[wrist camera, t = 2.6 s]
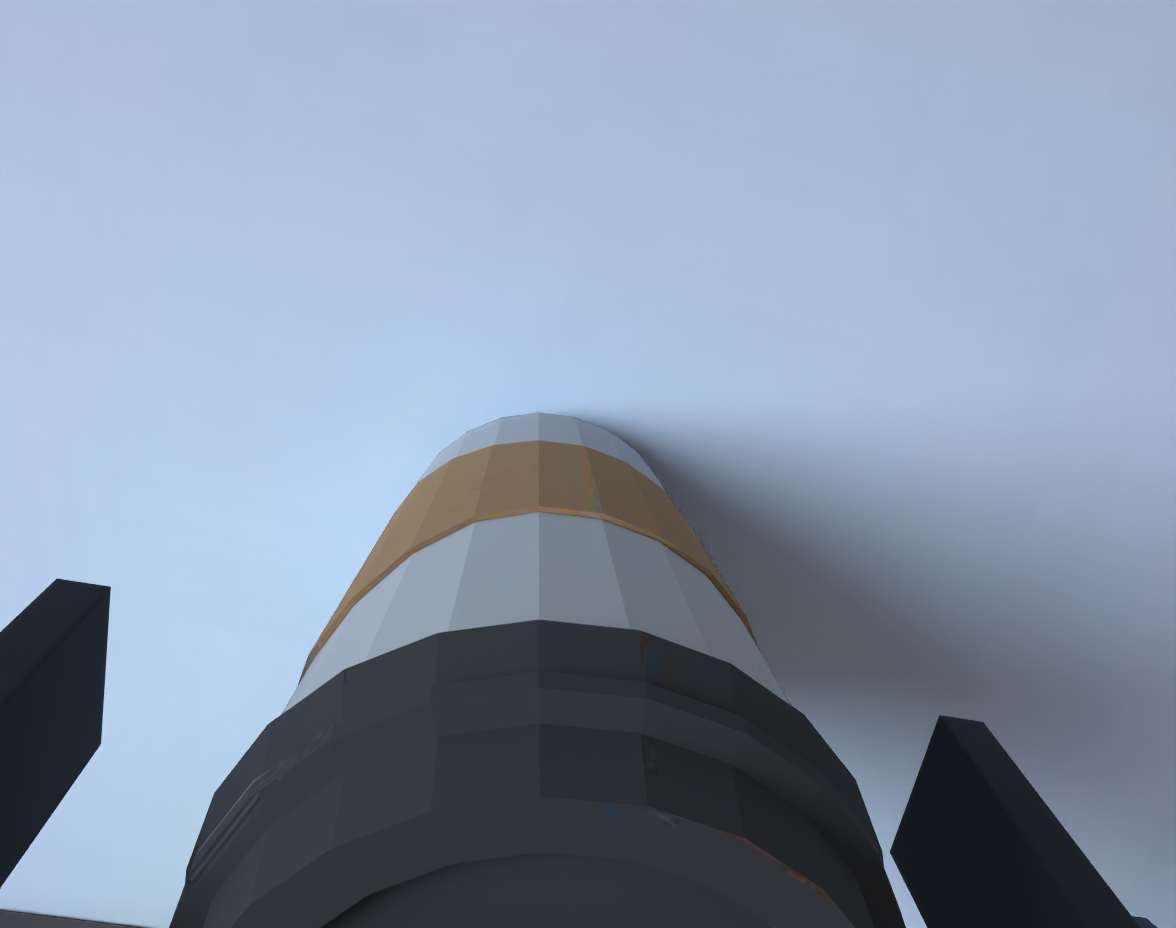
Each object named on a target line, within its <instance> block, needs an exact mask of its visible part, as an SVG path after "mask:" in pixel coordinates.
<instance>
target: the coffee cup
mask: <svg viewBox="0 0 1176 928" xmlns="http://www.w3.org/2000/svg"><path fill="white" fill-rule="evenodd" d="M169 928H906V927H905V924H904V921H903V918H902V915H901V912H900V909H899V906H898V904H897V901H896V898H895V895H894V893H893V890H892V887H891V885H890V882H889V879H888V877H887V874H886V871H885V869H884V864H883V854H882V849H881V847H880V844H879V841H878V839H877V836H876V833H875V831H874V828H873V825H872V823H871V820H870V817H869V815H868V812H867V809H866V807H865V804H864V801H863V798H862V796H861V793H860V790H859V788H858V785H857V782H856V780H855V778H854V777H853V776H852V775H851V773H850V772H849V771H848V769H847V768H846V767H845V766H844V764H843V763H842V762H841V761H840V759H839V758H838V757H837V756H836V754H835V753H834V752H833V751H832V749H831V748H830V747H829V746H828V744H827V743H826V742H825V740H824V739H823V738H822V737H821V735H820V734H819V733H818V732H817V730H816V729H815V728H814V727H813V725H812V724H811V723H810V722H809V720H808V719H807V718H806V716H805V715H804V714H802V713H801V712H800V711H798V710H797V709H795V708H794V707H792V705H791V703H790V702H789V700H788V698H787V697H786V695H785V693H784V692H783V690H782V688H781V686H780V685H779V683H778V681H777V680H776V678H775V676H774V675H773V673H772V671H771V669H770V668H769V666H768V664H767V663H766V661H765V659H764V658H763V656H762V654H761V652H760V650H759V648H758V645H757V643H756V640H755V638H754V635H753V633H752V630H751V628H750V625H749V623H748V620H747V618H746V616H745V614H744V612H743V611H742V609H741V607H740V606H739V604H738V602H737V601H736V599H735V597H734V596H733V594H732V593H731V591H730V589H729V588H728V586H727V584H726V583H725V581H724V579H723V578H722V576H721V574H720V573H719V571H718V570H717V568H716V566H715V565H714V563H713V561H712V560H711V558H710V556H709V555H708V553H707V552H706V550H705V548H704V547H703V545H702V543H701V542H700V540H699V538H698V537H697V535H696V533H695V532H694V530H693V529H692V527H691V525H690V524H689V522H688V521H687V519H686V518H685V517H684V516H683V514H682V513H681V512H680V510H679V509H678V508H677V507H676V505H675V504H674V503H673V501H672V500H671V499H670V498H669V496H668V495H667V493H666V491H665V490H664V488H663V486H662V484H661V483H660V481H659V479H658V478H657V477H656V475H655V474H654V473H653V472H652V470H651V469H650V468H649V466H648V465H647V464H646V463H645V461H644V460H643V459H642V457H641V456H640V455H639V454H638V452H637V451H635V450H634V449H633V448H631V447H630V446H629V445H627V444H626V443H625V442H623V441H622V440H621V439H619V438H618V437H617V436H615V435H614V434H613V433H611V432H610V431H608V430H606V429H603V428H601V427H598V426H596V425H593V424H591V423H588V422H586V421H583V420H581V419H578V418H576V417H569V416H561V415H553V414H545V413H532V414H525V415H517V416H509V417H502V418H499V419H497V420H494V421H492V422H489V423H487V424H484V425H482V426H479V427H477V428H475V429H472V430H470V431H467V432H466V433H465V434H464V435H462V436H461V437H460V438H458V439H457V440H456V441H454V442H453V443H452V444H450V445H449V446H448V447H447V448H445V449H444V450H443V451H441V452H440V453H439V454H438V455H437V457H436V458H435V459H434V461H433V462H432V463H431V465H430V466H429V467H428V469H427V470H426V471H425V473H424V474H423V475H422V477H421V478H420V479H419V481H418V482H417V484H416V486H415V487H414V489H413V490H412V491H411V492H410V494H409V495H408V496H407V498H406V499H405V500H404V501H403V503H402V504H401V505H400V507H399V508H398V509H397V510H396V512H395V513H394V515H393V516H392V518H391V520H390V521H389V523H388V525H387V526H386V528H385V530H384V531H383V533H382V535H381V536H380V538H379V540H378V541H377V543H376V544H375V546H374V548H373V549H372V551H371V553H370V554H369V556H368V558H367V559H366V561H365V563H364V564H363V566H362V568H361V569H360V571H359V573H358V574H357V576H356V578H355V579H354V581H353V583H352V584H351V586H350V588H349V589H348V591H347V593H346V594H345V596H344V598H343V599H342V601H341V602H340V604H339V606H338V607H337V609H336V611H335V612H334V614H333V616H332V617H331V619H330V621H329V622H328V624H327V626H326V627H325V629H324V631H323V632H322V634H321V636H320V637H319V639H318V641H317V642H316V644H315V646H314V647H313V649H312V651H311V652H310V654H309V656H308V658H307V661H306V664H305V667H304V670H303V672H302V675H301V678H300V681H299V684H298V687H297V689H296V690H295V692H294V694H293V696H292V697H291V699H290V701H289V702H288V704H287V706H286V708H285V709H284V711H283V713H282V714H281V715H280V716H279V717H278V718H276V719H275V720H273V721H272V722H271V723H269V724H268V725H267V726H266V728H265V729H264V730H263V731H262V733H261V734H260V735H259V737H258V738H257V739H256V740H255V742H254V743H253V744H252V746H251V747H250V748H249V749H248V751H247V752H246V753H245V755H244V756H243V757H242V758H241V760H240V761H239V762H238V764H237V765H236V766H235V767H234V769H233V770H232V771H231V773H230V774H229V775H228V776H227V778H226V779H225V780H224V782H223V783H222V784H221V785H220V787H219V788H218V789H217V791H216V792H215V793H214V796H213V798H212V801H211V804H210V806H209V809H208V812H207V815H206V817H205V820H204V823H203V826H202V828H201V831H200V834H199V836H198V839H197V842H196V845H195V847H194V850H193V853H192V856H191V858H190V861H189V864H188V866H187V870H186V880H185V886H184V889H183V892H182V894H181V897H180V900H179V902H178V905H177V908H176V911H175V913H174V916H173V919H172V921H171V924H170V927H169Z"/></svg>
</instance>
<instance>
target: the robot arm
mask: <svg viewBox="0 0 1176 928" xmlns="http://www.w3.org/2000/svg"><path fill="white" fill-rule="evenodd" d="M110 589H111V587H108V586H101V585H95V584H89V583H82V582H76V581H69V580H63V579H56V580H55V581H54V582H53V583H52V584H51V585H50V586H49V587H48V588H46V589H45V590H44V591H43V592H42V593H41V594H40V595H39V596H38V597H37V598H36V599H35V600H34V601H33V602H32V603H31V604H30V605H29V606H27V607H26V608H25V609H24V610H23V611H22V612H21V613H20V614H19V615H18V616H17V617H16V618H15V619H14V620H13V621H12V622H11V623H10V624H9V625H7V626H6V627H5V628H4V629H3V630H2V631H1V632H0V888H1V886H2V885H3V883H4V882H5V881H6V879H7V878H8V876H9V875H10V873H11V872H12V871H13V869H14V868H15V866H16V865H17V863H18V862H19V861H20V859H21V858H22V856H23V855H24V853H25V852H26V851H27V849H28V848H29V846H30V845H31V843H32V842H33V840H34V839H35V838H36V836H37V835H38V833H39V832H40V830H41V829H42V828H43V826H44V825H45V823H46V822H47V820H48V819H49V818H50V816H51V815H52V813H53V812H54V810H55V809H56V808H57V806H58V805H59V803H60V802H61V800H62V799H63V798H64V796H65V795H66V793H67V792H68V790H69V789H70V787H71V786H72V785H73V783H74V782H75V780H76V779H77V777H78V776H79V775H80V773H81V772H82V770H83V769H84V767H85V766H86V765H87V763H88V762H89V760H90V759H91V757H92V756H93V755H94V753H95V752H96V750H97V749H98V747H99V746H100V745H101V733H102V717H103V701H104V685H105V669H106V653H107V637H108V621H109V605H110ZM890 853H891V855H892V857H893V859H894V861H895V863H896V865H897V867H898V869H899V871H900V873H901V875H902V877H903V879H904V881H905V883H906V885H907V887H908V889H909V891H910V893H911V895H912V897H913V899H914V901H915V903H916V906H917V908H918V910H919V912H920V914H921V916H922V918H923V920H924V922H925V924H926V926H927V928H1157V927H1156V926H1155V925H1154V924H1152V923H1151V922H1150V921H1149V920H1148V919H1146V918H1141V917H1134V916H1131V915H1130V914H1129V912H1128V911H1127V910H1126V908H1125V907H1124V906H1123V904H1122V903H1121V902H1120V900H1119V899H1118V898H1117V897H1116V895H1115V894H1114V893H1113V891H1112V890H1111V889H1110V887H1109V886H1108V885H1107V883H1106V882H1105V881H1104V880H1103V878H1102V877H1101V876H1100V874H1099V873H1098V872H1097V870H1096V869H1095V868H1094V866H1093V865H1092V864H1091V863H1090V861H1089V860H1088V859H1087V857H1086V856H1085V855H1084V853H1083V852H1082V851H1081V849H1080V848H1079V847H1078V846H1077V844H1076V843H1075V842H1074V840H1073V839H1072V838H1071V836H1070V835H1069V834H1068V832H1067V831H1066V830H1065V829H1064V827H1063V826H1062V825H1061V823H1060V822H1059V821H1058V819H1057V818H1056V817H1055V815H1054V814H1053V813H1052V811H1051V810H1050V809H1049V808H1048V806H1047V805H1046V804H1045V802H1044V801H1043V800H1042V798H1041V797H1040V796H1039V794H1038V793H1037V792H1036V791H1035V789H1034V788H1033V787H1032V785H1031V784H1030V783H1029V781H1028V780H1027V779H1026V777H1025V776H1024V775H1023V774H1022V772H1021V771H1020V770H1019V768H1018V767H1017V766H1016V764H1015V763H1014V762H1013V760H1012V759H1011V758H1010V757H1009V755H1008V754H1007V753H1006V751H1005V750H1004V749H1003V747H1002V746H1001V745H1000V743H999V742H998V741H997V740H996V738H995V737H994V736H993V734H992V733H991V732H990V730H989V729H988V728H987V726H986V725H985V724H984V722H980V721H974V720H967V719H961V718H954V717H948V716H941V715H939V718H938V721H937V724H936V726H935V729H934V732H933V735H932V737H931V740H930V743H929V746H928V748H927V751H926V754H925V757H924V759H923V762H922V765H921V768H920V770H919V773H918V776H917V779H916V781H915V784H914V787H913V790H912V792H911V795H910V798H909V801H908V803H907V806H906V809H905V812H904V814H903V817H902V820H901V823H900V825H899V828H898V831H897V834H896V836H895V839H894V842H893V845H892V847H891V850H890Z"/></svg>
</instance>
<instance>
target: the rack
mask: <svg viewBox="0 0 1176 928" xmlns="http://www.w3.org/2000/svg"><path fill="white" fill-rule="evenodd" d="M0 928H138V927H129V926H121V925H113V924H105V923H97V922H89V921H81V920H73V919H65V918H57V917H49V916H40V915H32V914H24V913H16V912H8V911H0Z"/></svg>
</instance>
